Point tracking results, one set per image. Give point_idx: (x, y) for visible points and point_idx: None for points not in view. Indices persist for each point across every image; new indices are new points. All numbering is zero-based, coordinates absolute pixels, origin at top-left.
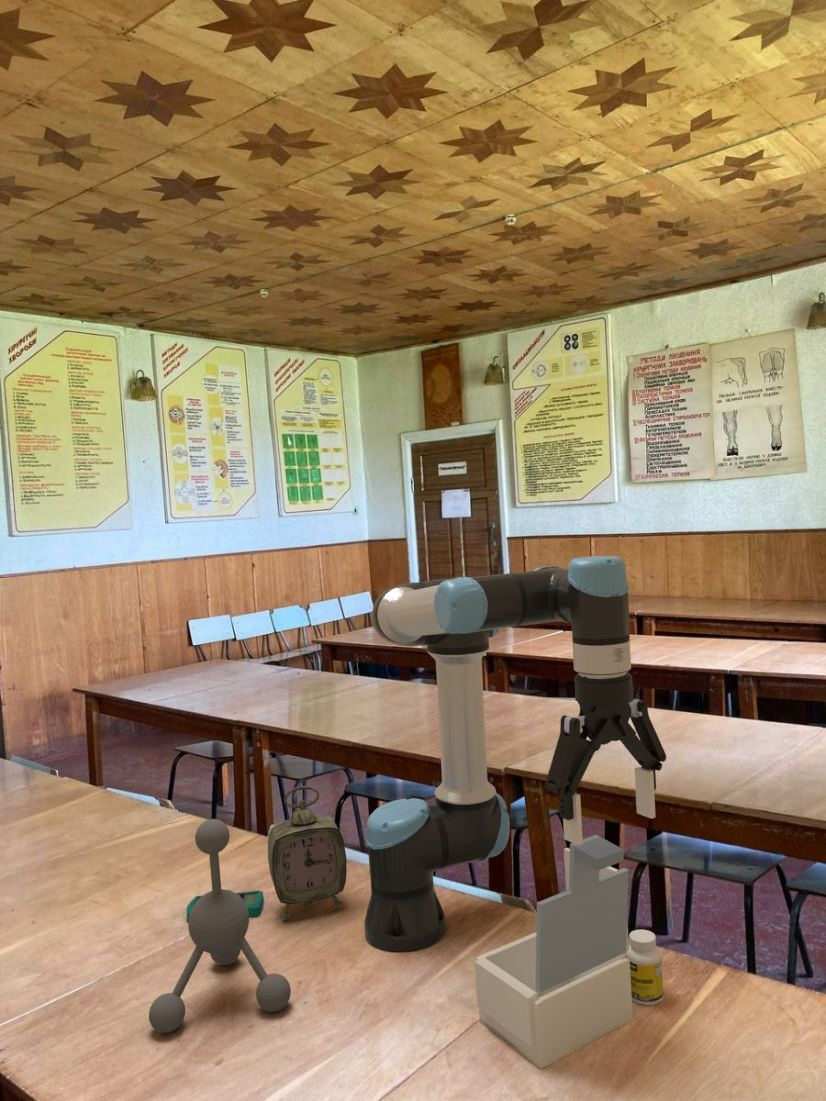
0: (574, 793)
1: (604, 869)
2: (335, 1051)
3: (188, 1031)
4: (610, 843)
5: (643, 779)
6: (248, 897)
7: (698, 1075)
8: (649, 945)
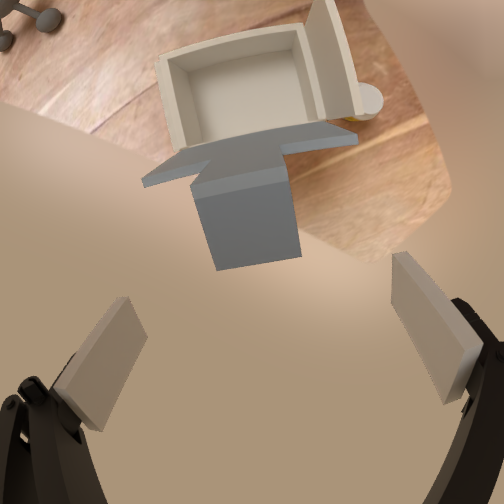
0: (83, 432)
1: (345, 76)
2: (71, 78)
3: (15, 44)
4: (291, 221)
5: (438, 358)
6: None
7: (315, 216)
8: (366, 114)
